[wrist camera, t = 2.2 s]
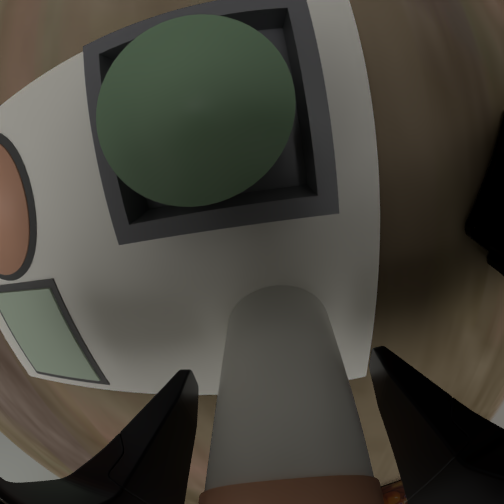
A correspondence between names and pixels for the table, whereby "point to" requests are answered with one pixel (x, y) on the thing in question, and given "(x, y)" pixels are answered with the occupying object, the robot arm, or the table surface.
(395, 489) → the candy box
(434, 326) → the table surface
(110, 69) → the button
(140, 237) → the button housing
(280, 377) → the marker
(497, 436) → the robot arm
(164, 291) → the picture board
